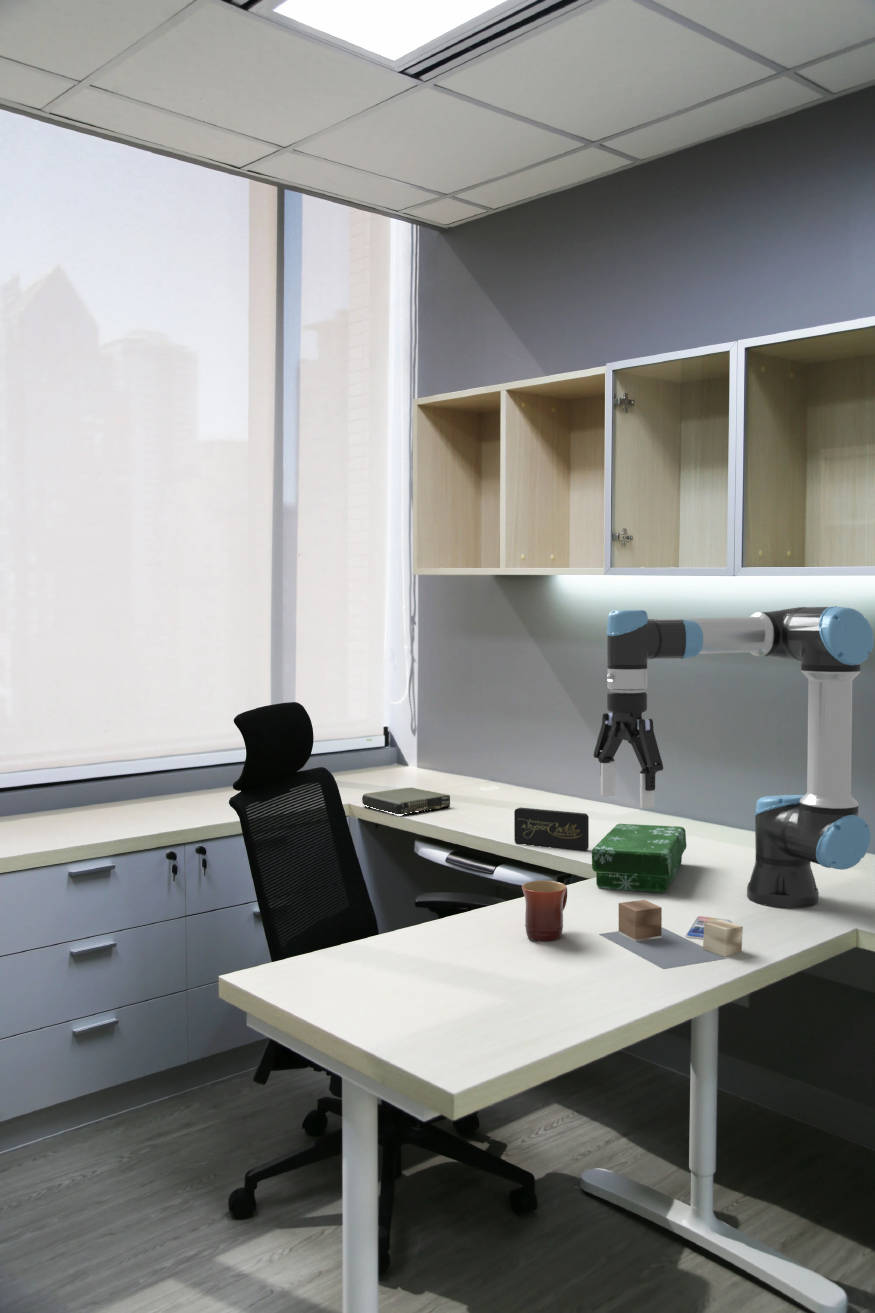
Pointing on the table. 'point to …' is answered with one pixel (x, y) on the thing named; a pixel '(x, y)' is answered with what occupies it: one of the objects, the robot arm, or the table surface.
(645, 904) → the walnut cube
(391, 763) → the table surface
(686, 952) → the felt mat
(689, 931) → the smartphone
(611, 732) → the robot arm
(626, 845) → the box
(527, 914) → the mug
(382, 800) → the network switch
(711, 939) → the maple block
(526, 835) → the nameplate
